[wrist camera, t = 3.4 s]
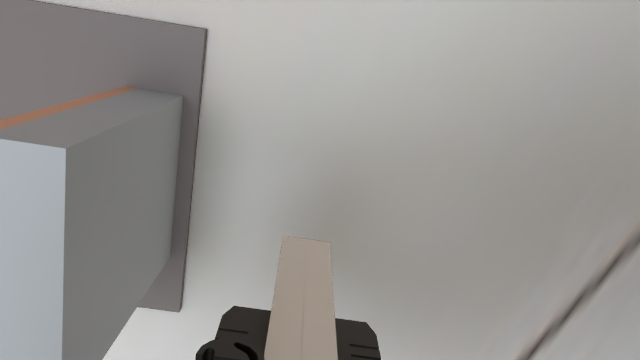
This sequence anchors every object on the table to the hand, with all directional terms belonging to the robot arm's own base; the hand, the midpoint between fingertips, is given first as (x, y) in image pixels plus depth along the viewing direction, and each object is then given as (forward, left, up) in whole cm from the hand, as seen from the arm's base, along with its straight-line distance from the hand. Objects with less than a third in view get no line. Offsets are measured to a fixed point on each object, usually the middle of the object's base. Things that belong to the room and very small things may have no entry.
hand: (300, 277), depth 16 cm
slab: (+7, 0, -8) cm, 11 cm away
